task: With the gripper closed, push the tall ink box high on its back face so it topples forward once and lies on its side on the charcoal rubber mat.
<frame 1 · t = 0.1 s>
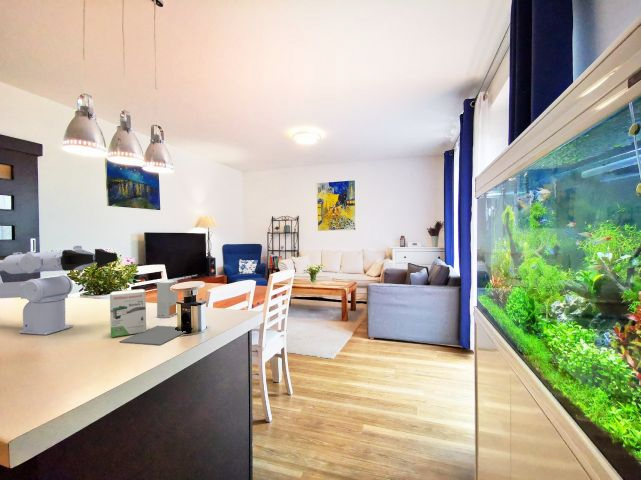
hand: (104, 257, 85), 22 cm above the counter, tool horizontal, fingers open, 7 cm apart
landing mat: (158, 335, 85), on the counter
ink box: (129, 333, 86), on the counter, touching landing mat
skincare box: (167, 316, 105), on the counter
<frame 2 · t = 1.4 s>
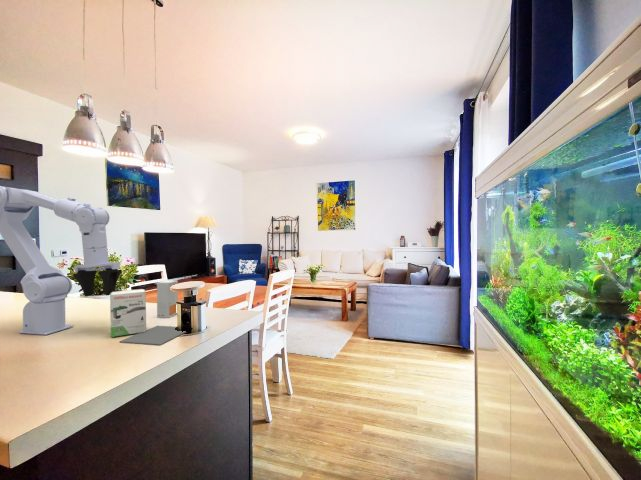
hand: (99, 295, 88), 10 cm above the counter, tool pointing down, fingers open, 7 cm apart
nothing on the counter moved.
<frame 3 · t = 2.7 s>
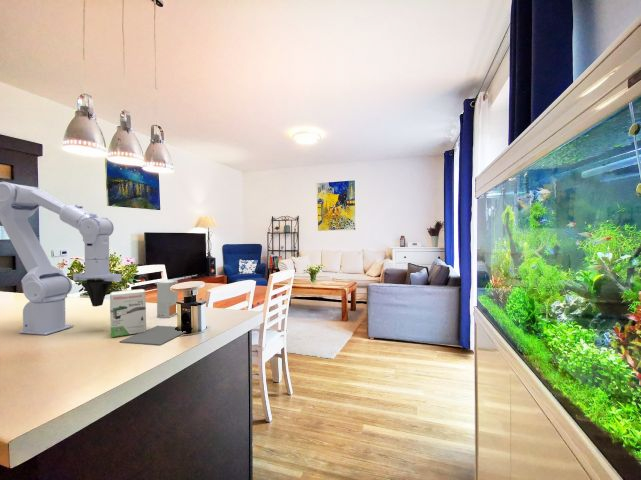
hand: (97, 305, 88), 7 cm above the counter, tool pointing down, fingers closed
nothing on the counter moved.
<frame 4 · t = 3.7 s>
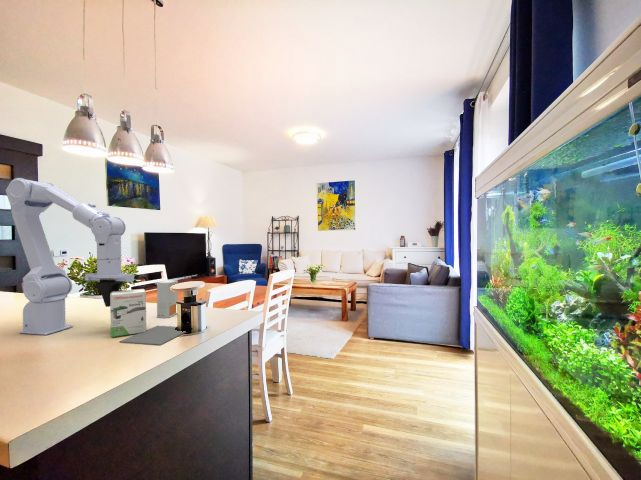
hand: (109, 306, 87), 7 cm above the counter, tool pointing down, fingers closed, pressing on ink box
ink box: (129, 333, 86), on the counter, touching gripper, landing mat
everything else where it was.
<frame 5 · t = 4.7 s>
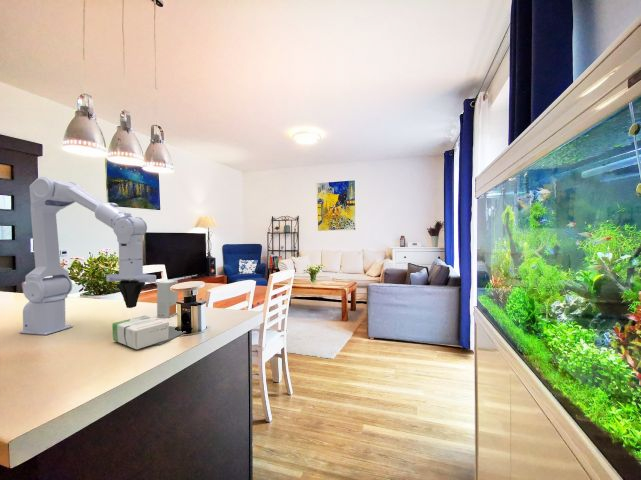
hand: (131, 307, 86), 7 cm above the counter, tool pointing down, fingers closed
ink box: (129, 326, 82), point 3 cm above the counter, touching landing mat
everything else where it was.
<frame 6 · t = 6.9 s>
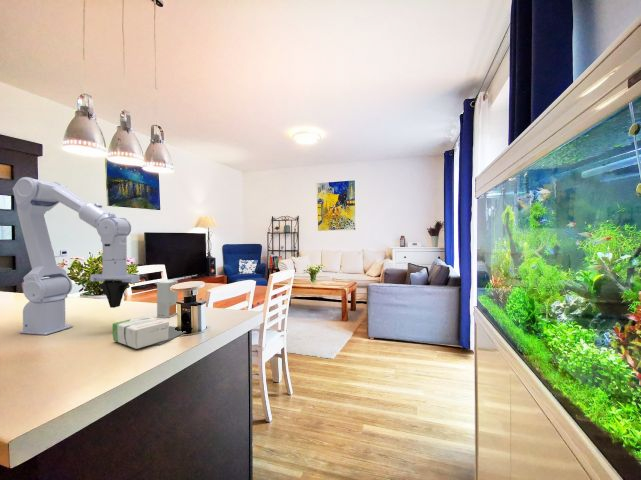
hand: (115, 306, 87), 7 cm above the counter, tool pointing down, fingers closed
nothing on the counter moved.
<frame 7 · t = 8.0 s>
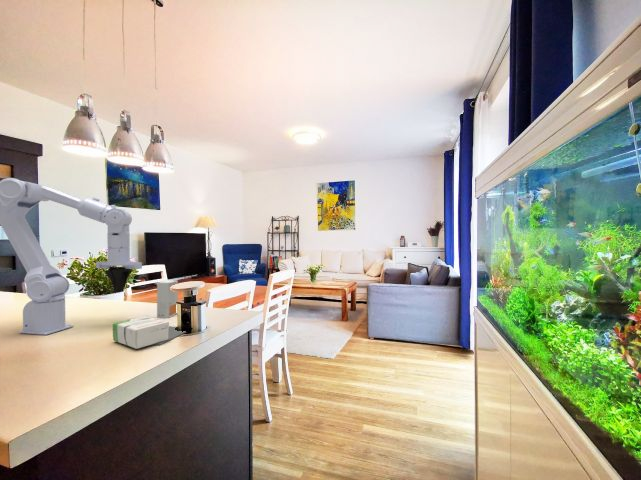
hand: (119, 291, 94), 10 cm above the counter, tool pointing down, fingers closed
nothing on the counter moved.
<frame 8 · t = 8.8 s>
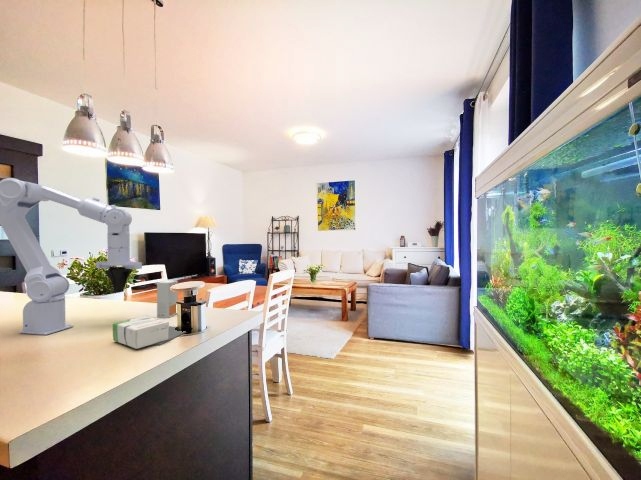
hand: (119, 291, 94), 10 cm above the counter, tool pointing down, fingers closed
nothing on the counter moved.
at the end: ink box tilted 90°; ink box inside the target area (3.7 cm from its centre), point 2.8 cm above the counter; ink box touching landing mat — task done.
